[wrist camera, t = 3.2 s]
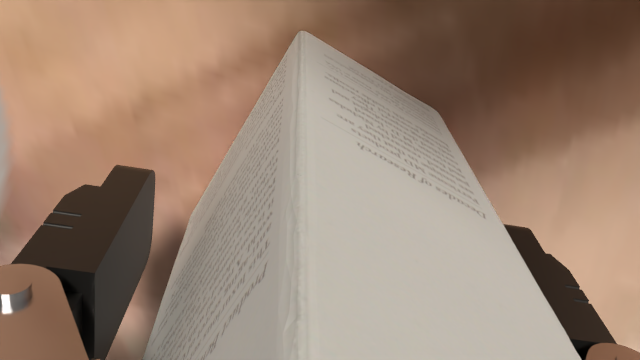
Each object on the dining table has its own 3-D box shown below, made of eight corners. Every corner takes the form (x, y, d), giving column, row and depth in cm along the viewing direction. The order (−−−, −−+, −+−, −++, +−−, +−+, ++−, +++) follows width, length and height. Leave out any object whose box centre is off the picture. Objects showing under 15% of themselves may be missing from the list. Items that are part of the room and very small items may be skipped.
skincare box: (323, 276, 17) (341, 928, 7) (189, 211, 16) (-47, 861, 6) (449, 106, 15) (795, 690, 4) (302, 17, 14) (267, 498, 3)
